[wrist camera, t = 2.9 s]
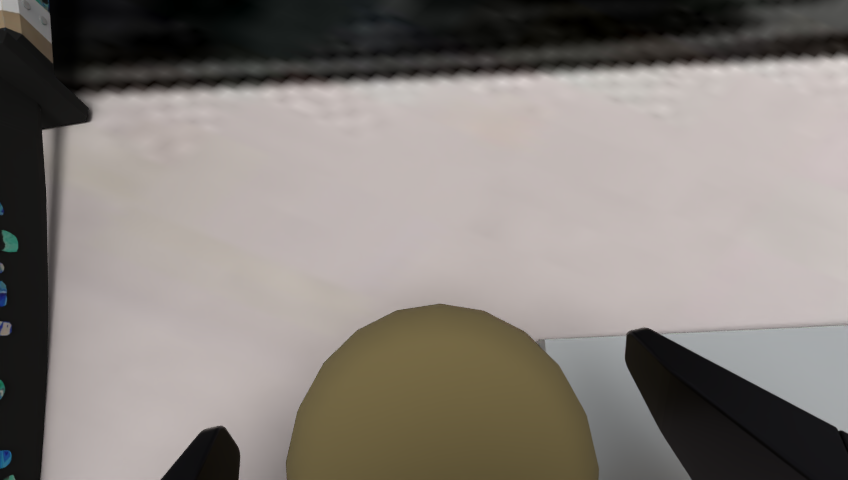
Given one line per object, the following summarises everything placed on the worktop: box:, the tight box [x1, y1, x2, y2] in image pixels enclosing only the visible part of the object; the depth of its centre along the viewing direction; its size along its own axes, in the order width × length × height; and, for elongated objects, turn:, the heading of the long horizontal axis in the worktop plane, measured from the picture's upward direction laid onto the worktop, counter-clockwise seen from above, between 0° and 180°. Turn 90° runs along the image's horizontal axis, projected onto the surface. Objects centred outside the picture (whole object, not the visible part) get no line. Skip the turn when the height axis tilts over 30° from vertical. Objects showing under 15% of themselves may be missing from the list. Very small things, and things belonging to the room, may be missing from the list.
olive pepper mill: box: [286, 304, 599, 480], centre depth 11 cm, size 6×6×11 cm
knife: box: [0, 0, 89, 480], centre depth 18 cm, size 31×3×4 cm, turn 6°
